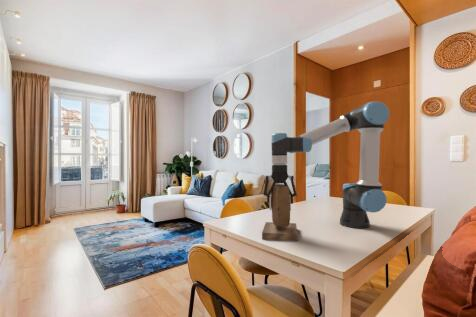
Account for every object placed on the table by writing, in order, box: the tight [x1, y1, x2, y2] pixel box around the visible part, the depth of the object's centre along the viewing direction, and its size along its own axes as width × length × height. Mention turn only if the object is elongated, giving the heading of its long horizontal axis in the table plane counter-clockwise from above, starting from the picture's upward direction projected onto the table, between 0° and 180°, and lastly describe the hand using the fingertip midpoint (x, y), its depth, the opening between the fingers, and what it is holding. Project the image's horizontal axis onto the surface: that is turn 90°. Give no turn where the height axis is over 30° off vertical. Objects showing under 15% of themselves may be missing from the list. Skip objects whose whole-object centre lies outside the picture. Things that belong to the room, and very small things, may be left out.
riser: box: [261, 221, 298, 242], centre depth 123 cm, size 16×19×3 cm
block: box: [270, 183, 291, 227], centre depth 123 cm, size 11×8×20 cm
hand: (280, 209), depth 123 cm, fingers closed on block, 9 cm apart
